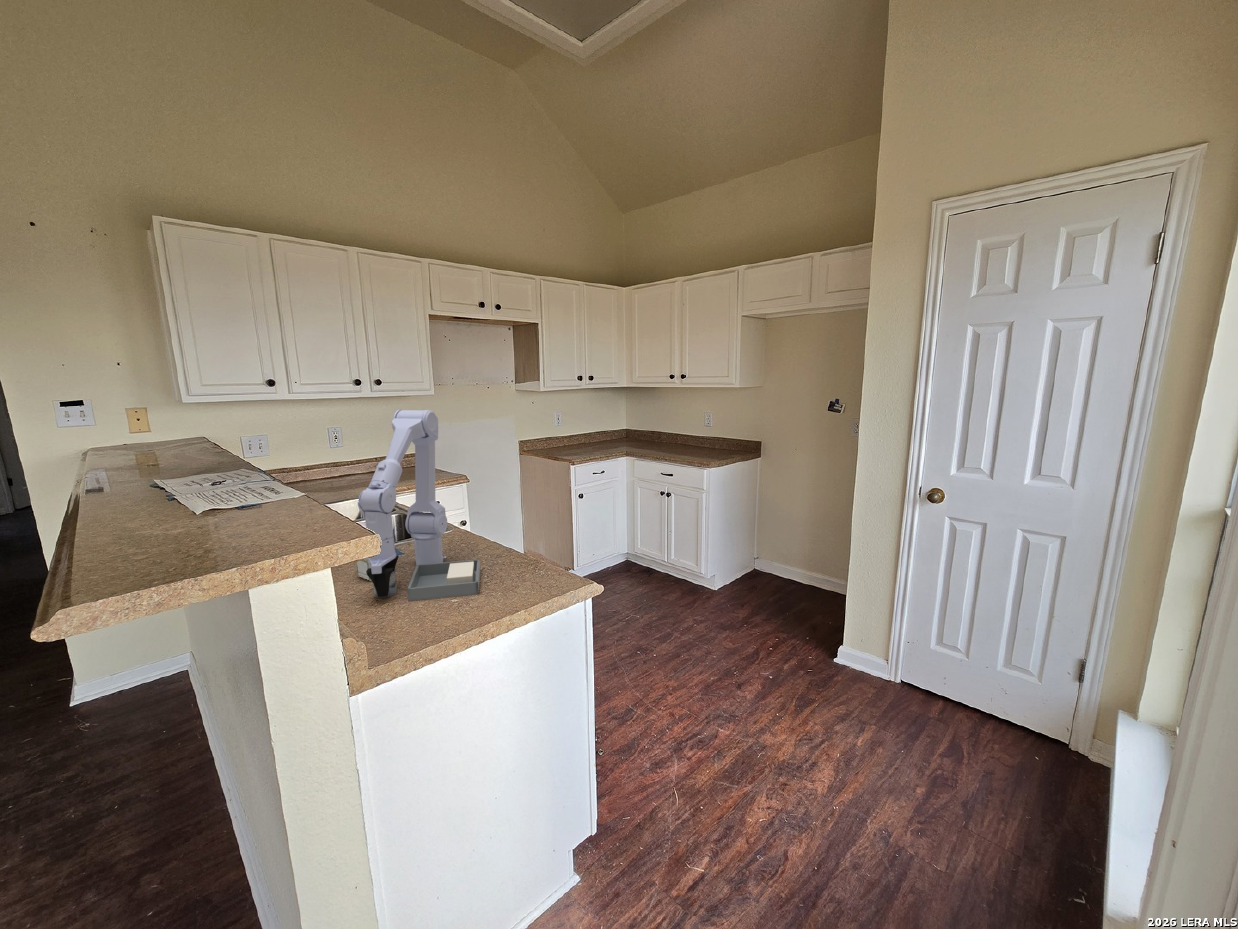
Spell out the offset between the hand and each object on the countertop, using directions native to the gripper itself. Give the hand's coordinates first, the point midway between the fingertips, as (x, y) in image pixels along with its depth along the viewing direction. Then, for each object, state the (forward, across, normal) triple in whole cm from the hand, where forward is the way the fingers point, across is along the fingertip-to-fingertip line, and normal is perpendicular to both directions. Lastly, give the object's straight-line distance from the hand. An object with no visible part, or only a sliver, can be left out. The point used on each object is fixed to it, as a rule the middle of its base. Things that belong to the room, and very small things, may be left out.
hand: (385, 591), depth 127 cm
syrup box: (+2, -15, -6) cm, 16 cm away
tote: (+2, -2, +14) cm, 14 cm away
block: (+1, -2, +18) cm, 18 cm away
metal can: (+2, 0, 0) cm, 2 cm away
